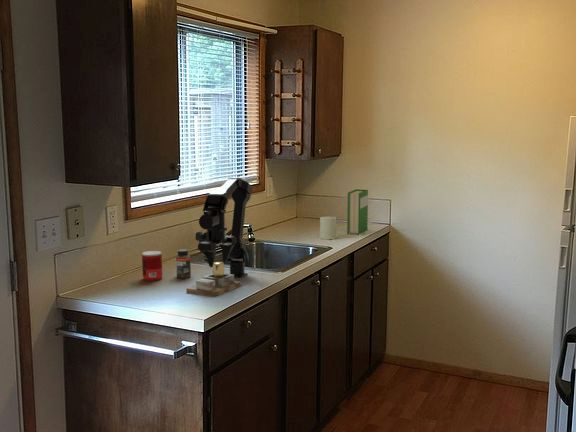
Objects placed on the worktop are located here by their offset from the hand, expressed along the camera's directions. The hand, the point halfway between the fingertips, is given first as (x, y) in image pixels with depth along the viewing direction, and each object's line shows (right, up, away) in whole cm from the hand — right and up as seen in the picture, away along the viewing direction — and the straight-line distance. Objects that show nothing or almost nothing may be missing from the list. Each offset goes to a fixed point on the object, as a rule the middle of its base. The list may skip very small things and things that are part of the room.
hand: (218, 264), depth 247 cm
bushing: (0, -7, +1) cm, 7 cm away
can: (+49, +7, +103) cm, 115 cm away
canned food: (-29, -7, +15) cm, 33 cm away
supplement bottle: (-16, -7, +18) cm, 25 cm away
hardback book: (+68, +9, +122) cm, 140 cm away
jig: (-1, -9, -1) cm, 9 cm away
